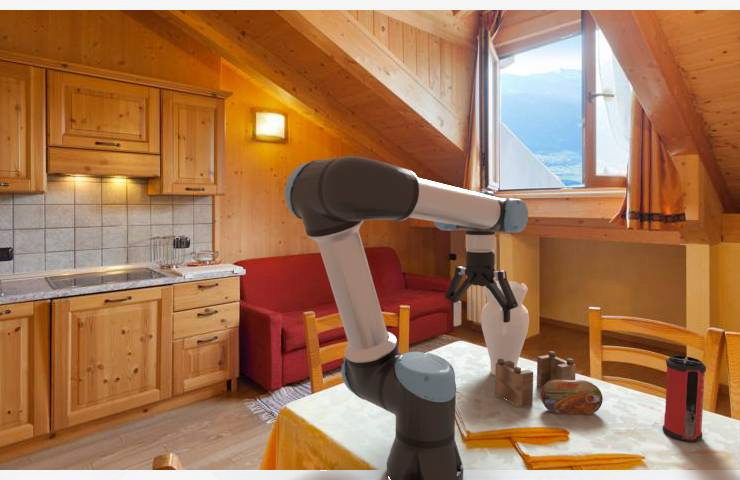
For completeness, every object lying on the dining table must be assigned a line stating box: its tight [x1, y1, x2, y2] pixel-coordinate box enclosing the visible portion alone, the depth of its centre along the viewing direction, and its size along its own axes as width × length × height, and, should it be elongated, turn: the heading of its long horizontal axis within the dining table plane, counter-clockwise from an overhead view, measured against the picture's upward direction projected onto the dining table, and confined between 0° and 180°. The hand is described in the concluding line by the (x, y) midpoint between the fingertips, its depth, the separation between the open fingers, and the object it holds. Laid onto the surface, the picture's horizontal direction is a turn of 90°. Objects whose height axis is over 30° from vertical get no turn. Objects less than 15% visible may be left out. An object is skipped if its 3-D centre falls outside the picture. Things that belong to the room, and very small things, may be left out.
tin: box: [540, 379, 604, 416], centre depth 120 cm, size 15×3×8 cm, turn 85°
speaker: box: [662, 355, 707, 443], centre depth 107 cm, size 8×8×18 cm
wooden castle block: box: [494, 350, 577, 408], centre depth 130 cm, size 10×20×10 cm, turn 112°
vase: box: [480, 280, 530, 377], centre depth 146 cm, size 15×15×29 cm
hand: (479, 329), depth 123 cm, fingers open, 13 cm apart
